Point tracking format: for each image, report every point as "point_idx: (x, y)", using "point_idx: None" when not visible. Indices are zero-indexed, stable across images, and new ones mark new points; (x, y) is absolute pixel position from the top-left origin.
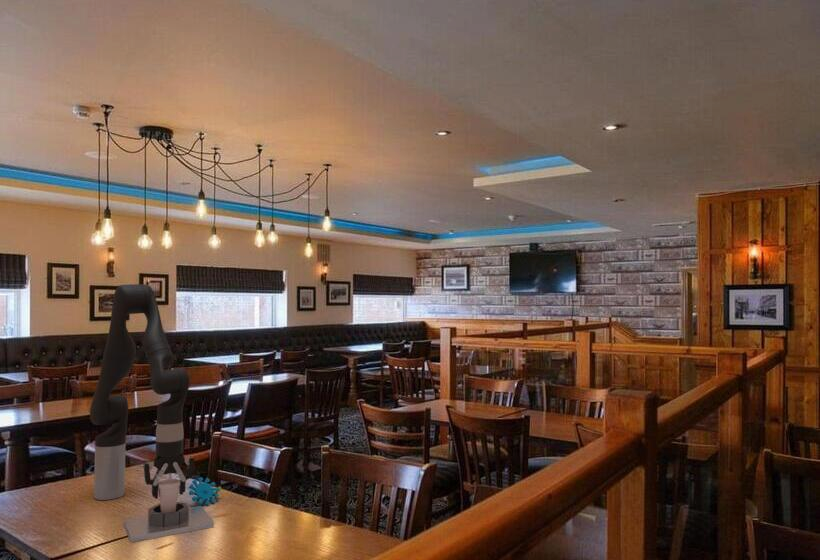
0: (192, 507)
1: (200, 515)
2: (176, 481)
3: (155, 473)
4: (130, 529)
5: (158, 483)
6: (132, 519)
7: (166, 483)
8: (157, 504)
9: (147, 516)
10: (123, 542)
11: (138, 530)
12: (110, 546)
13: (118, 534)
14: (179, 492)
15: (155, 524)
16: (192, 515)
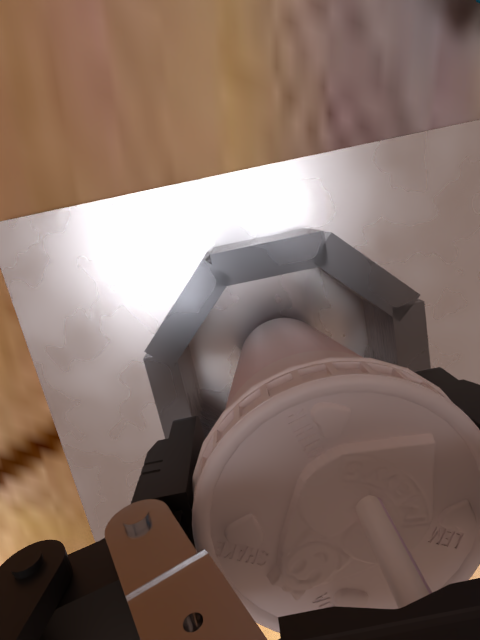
0: (447, 135)
1: (473, 328)
2: (448, 530)
3: (130, 606)
4: (73, 435)
5: (209, 551)
6: (51, 262)
7: (315, 586)
8: (204, 262)
9: (143, 232)
10: (68, 506)
11: (121, 465)
12: (16, 535)
13: (17, 392)
14: None
15: None
16: (427, 311)
